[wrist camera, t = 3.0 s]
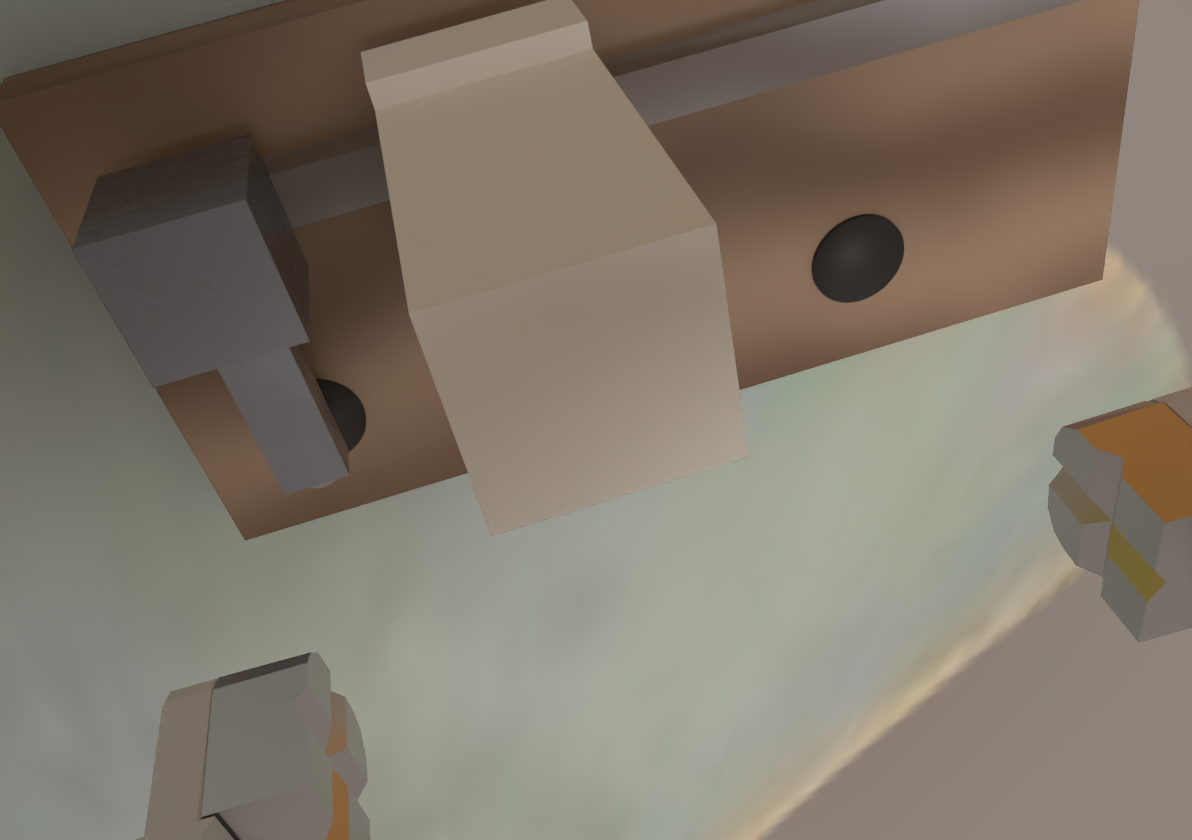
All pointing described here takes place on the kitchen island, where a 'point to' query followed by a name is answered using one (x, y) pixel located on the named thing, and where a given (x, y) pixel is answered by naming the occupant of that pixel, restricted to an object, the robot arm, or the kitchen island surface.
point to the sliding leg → (552, 267)
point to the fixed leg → (216, 294)
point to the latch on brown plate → (692, 141)
